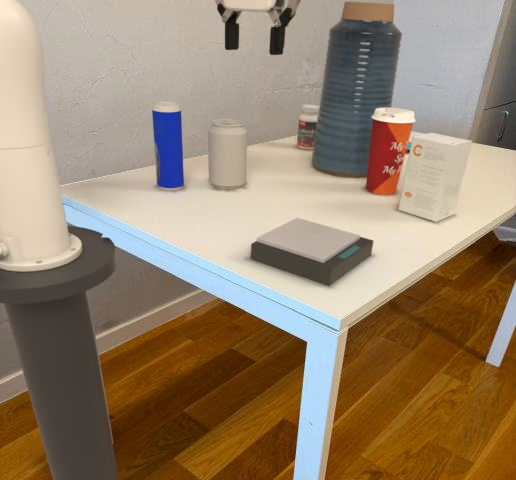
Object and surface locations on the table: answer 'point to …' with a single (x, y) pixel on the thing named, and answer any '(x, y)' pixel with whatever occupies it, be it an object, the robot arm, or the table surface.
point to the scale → (311, 250)
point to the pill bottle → (307, 127)
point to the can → (227, 153)
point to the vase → (355, 86)
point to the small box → (434, 175)
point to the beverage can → (168, 145)
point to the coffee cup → (388, 148)
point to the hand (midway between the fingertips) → (253, 52)
